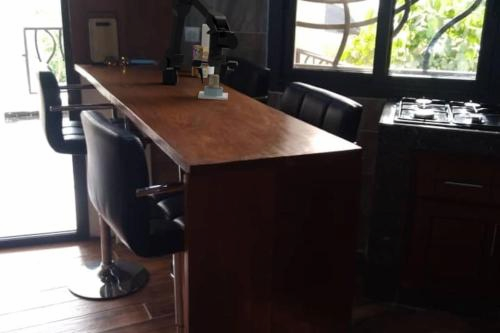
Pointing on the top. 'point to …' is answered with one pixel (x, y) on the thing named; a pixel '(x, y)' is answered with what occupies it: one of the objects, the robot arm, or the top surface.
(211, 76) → the rail post
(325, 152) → the top surface
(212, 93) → the cup bracket
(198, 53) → the candy box
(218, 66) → the robot arm
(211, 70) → the cylindrical container
